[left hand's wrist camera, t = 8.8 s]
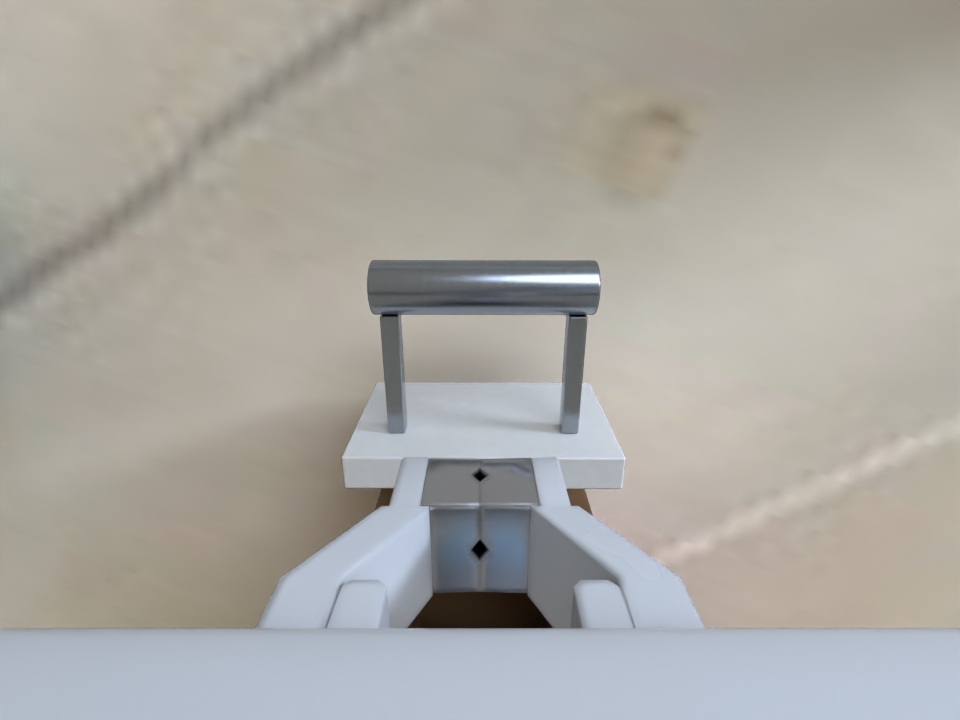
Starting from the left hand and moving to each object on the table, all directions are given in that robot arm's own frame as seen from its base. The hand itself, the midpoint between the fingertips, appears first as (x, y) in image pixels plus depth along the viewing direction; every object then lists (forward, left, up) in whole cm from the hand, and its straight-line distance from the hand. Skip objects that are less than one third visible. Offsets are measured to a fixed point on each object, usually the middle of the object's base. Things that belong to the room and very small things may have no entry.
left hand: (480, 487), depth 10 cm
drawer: (+7, +2, -12) cm, 14 cm away
